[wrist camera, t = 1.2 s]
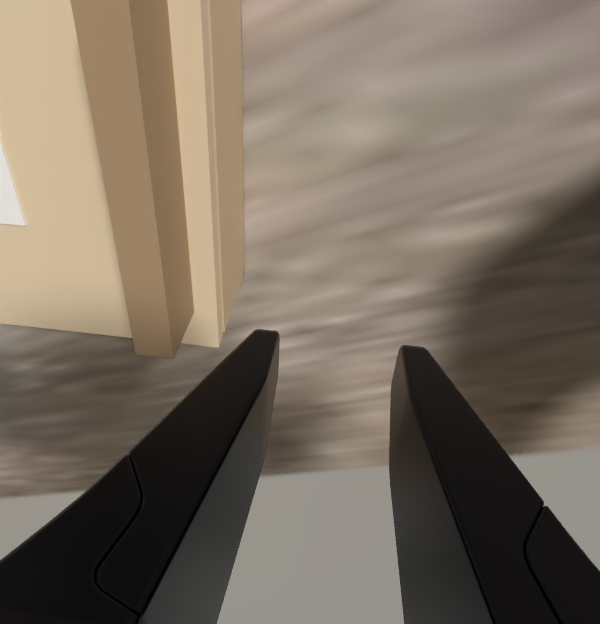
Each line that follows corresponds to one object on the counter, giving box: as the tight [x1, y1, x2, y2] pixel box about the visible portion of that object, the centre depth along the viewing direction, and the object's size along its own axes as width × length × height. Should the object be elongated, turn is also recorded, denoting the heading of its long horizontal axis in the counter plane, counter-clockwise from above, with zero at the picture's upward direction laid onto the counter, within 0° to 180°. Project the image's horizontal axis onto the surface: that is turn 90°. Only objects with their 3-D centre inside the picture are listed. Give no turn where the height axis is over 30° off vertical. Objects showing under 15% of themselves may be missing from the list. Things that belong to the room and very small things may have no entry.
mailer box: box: [207, 0, 245, 332], centre depth 18 cm, size 14×13×4 cm
